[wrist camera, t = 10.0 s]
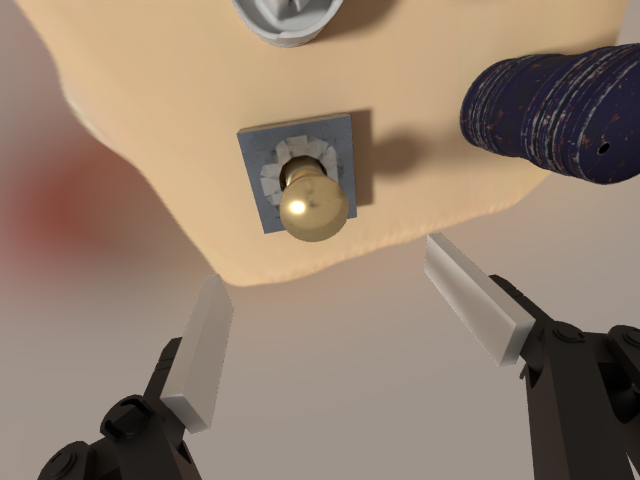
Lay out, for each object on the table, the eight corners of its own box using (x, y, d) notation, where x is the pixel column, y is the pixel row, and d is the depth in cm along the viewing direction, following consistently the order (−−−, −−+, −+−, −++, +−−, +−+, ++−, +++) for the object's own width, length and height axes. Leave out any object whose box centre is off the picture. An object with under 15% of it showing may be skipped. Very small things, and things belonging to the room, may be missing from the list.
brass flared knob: (284, 198, 34) (287, 247, 24) (273, 151, 31) (272, 185, 21) (328, 190, 34) (351, 235, 24) (323, 143, 31) (346, 172, 21)
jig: (240, 129, 29) (236, 133, 26) (344, 112, 30) (350, 115, 27) (265, 223, 35) (264, 233, 33) (351, 207, 36) (356, 217, 33)
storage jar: (524, 34, 28) (727, -7, 15) (546, 110, 33) (716, 126, 20) (445, 102, 31) (563, 115, 18) (475, 164, 35) (586, 209, 23)
